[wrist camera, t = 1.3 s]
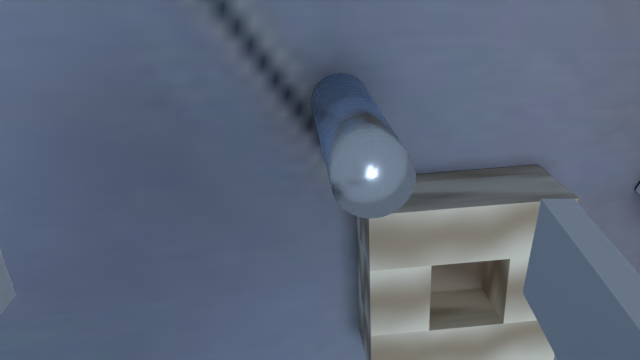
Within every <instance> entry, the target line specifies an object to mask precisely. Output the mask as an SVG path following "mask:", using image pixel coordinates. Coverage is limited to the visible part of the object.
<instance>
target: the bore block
mask: <svg viewBox="0 0 640 360" xmlns="http://www.w3.org/2000/svg"><path fill="white" fill-rule="evenodd" d="M572 198H574V199H575V200H576V202H577V203H578V200H579V198H578V197H577V196H576V195H574V194H573V193H572V192H571V191H569V190H568V189H567V188H566V187H565V186H563V185H562V184H561V183H560V182H558V181H557V180H556V179H555V178H554V177H552V176H551V175H550V174H549V173H547V172H546V171H545V170H544V169H543V168H541V167H540V166H539V165H529V166H516V167H503V168H490V169H477V170H465V171H452V172H439V173H426V174H416V183H415V187H414V190H413V192H412V194H411V196H410V198H409V199H408V200H407V202H406V203H405V204H404V205H403V206H402V207H401V208H399V209H398V210H397V211H395V212H393V213H391V214H389V215H387V216H384V217H380V218H362V217H358V216H357V244H358V284H359V323H360V333H361V338H362V342H363V347H364V351H365V355H366V360H554V352H553V350H552V348H551V346H550V344H549V342H548V340H547V338H546V336H545V334H544V333H543V331H542V329H541V327H540V325H539V323H538V321H537V319H536V317H535V315H534V313H533V311H532V310H531V308H530V306H529V304H528V302H527V300H526V298H525V296H524V294H523V287H524V282H525V277H526V272H527V267H528V262H529V257H530V252H531V247H532V242H533V237H534V232H535V227H536V222H537V217H538V212H539V207H540V202H541V199H572Z"/></svg>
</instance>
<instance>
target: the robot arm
mask: <svg viewBox="0 0 640 360" xmlns="http://www.w3.org/2000/svg"><path fill="white" fill-rule="evenodd" d="M523 294H524V296H525V298H526V300H527V302H528V304H529V306H530V308H531V310H532V311H533V313H534V315H535V317H536V319H537V321H538V323H539V325H540V327H541V329H542V331H543V333H544V334H545V336H546V338H547V340H548V342H549V344H550V346H551V348H552V350H553V352H554V354H555V356H556V357H557V359H558V360H640V275H639V273H638V272H637V271H636V270H635V269H634V268H633V266H632V265H631V264H630V263H629V262H628V261H627V259H626V258H625V257H624V256H623V255H622V254H621V253H620V251H619V250H618V249H617V248H616V247H615V246H614V244H613V243H612V242H611V241H610V240H609V239H608V237H607V236H606V235H605V234H604V233H603V232H602V231H601V229H600V228H599V227H598V226H597V225H596V224H595V222H594V221H593V220H592V219H591V218H590V217H589V215H588V214H587V213H586V212H585V211H584V210H583V209H582V207H581V206H580V205H579V204H578V203H577V202H576V200H575V199H574V198H572V199H541V202H540V207H539V212H538V217H537V222H536V227H535V232H534V237H533V242H532V247H531V252H530V257H529V262H528V267H527V272H526V277H525V282H524V287H523ZM15 296H16V294H15V291H14V288H13V285H12V281H11V278H10V275H9V272H8V269H7V266H6V263H5V260H4V257H3V254H2V251H1V248H0V315H1V314H2V313H3V311H4V310H5V309H6V308H7V306H8V305H9V304H10V302H11V301H12V300H13V299H14V297H15Z"/></svg>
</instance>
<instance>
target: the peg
mask: <svg viewBox="0 0 640 360" xmlns="http://www.w3.org/2000/svg"><path fill="white" fill-rule="evenodd" d="M311 105H312V110H313V114H314V118H315V122H316V126H317V130H318V134H319V139H320V143H321V147H322V151H323V155H324V159H325V163H326V167H327V171H328V175H329V179H330V183H331V187H332V191H333V194H334V197H335V199H336V200H337V202H338V203H339V205H340V206H341V207H342V208H343V209H344V210H346V211H347V212H349V213H351V214H352V215H355V216H358V217H362V218H380V217H384V216H387V215H389V214H391V213H393V212H395V211H397V210H398V209H399V208H401V207H402V206H403V205H404V204H405V203H406V202H407V200H408V199H409V198H410V196H411V194H412V192H413V190H414V187H415V183H416V170H415V166H414V163H413V161H412V159H411V157H410V155H409V154H408V152H407V151H406V149H405V148H404V146H403V145H402V143H401V142H400V140H399V139H398V137H397V136H396V134H395V133H394V131H393V130H392V128H391V127H390V125H389V123H388V122H387V120H386V119H385V117H384V116H383V114H382V113H381V111H380V110H379V108H378V107H377V105H376V104H375V102H374V101H373V99H372V98H371V96H370V95H369V93H368V92H367V90H366V89H365V87H364V86H363V84H362V83H361V82H360V81H359V80H358V79H357V78H355V77H353V76H351V75H348V74H333V75H330V76H328V77H326V78H324V79H323V80H322V81H321V82H320V83H319V84H318V85H317V86H316V88H315V89H314V92H313V95H312V100H311Z"/></svg>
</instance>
